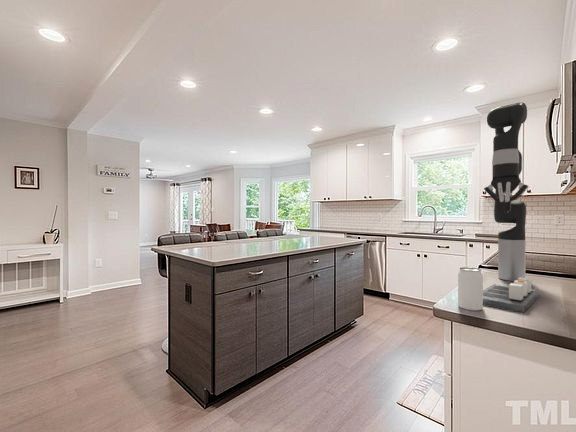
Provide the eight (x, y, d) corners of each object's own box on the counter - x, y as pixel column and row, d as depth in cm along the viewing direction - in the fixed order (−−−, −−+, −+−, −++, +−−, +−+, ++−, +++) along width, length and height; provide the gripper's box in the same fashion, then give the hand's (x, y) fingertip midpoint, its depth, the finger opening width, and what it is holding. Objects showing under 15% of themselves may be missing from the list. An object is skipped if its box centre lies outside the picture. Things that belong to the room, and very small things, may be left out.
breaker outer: (511, 296, 92) (511, 283, 92) (523, 298, 90) (523, 284, 90) (508, 298, 91) (508, 284, 90) (520, 300, 88) (521, 286, 88)
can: (486, 311, 86) (486, 271, 85) (462, 310, 87) (462, 270, 87) (477, 304, 92) (477, 267, 92) (454, 303, 93) (454, 266, 93)
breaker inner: (520, 289, 100) (520, 277, 100) (531, 290, 98) (531, 278, 98) (517, 290, 98) (518, 278, 98) (529, 292, 96) (529, 280, 96)
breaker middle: (516, 292, 96) (516, 279, 96) (527, 294, 94) (527, 280, 94) (513, 294, 94) (513, 280, 94) (525, 296, 92) (525, 282, 92)
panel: (494, 288, 110) (494, 283, 110) (539, 296, 100) (539, 289, 100) (473, 302, 94) (473, 295, 94) (523, 313, 84) (523, 305, 84)
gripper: (531, 162, 100) (531, 212, 100) (486, 166, 110) (486, 212, 110) (527, 159, 95) (527, 212, 95) (480, 165, 105) (480, 212, 105)
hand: (505, 212), depth 103 cm, fingers closed
